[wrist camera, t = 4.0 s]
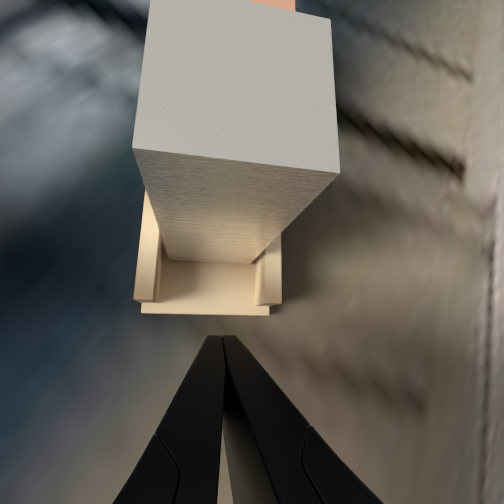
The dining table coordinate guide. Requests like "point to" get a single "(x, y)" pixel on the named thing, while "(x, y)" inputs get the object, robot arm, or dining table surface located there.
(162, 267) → the guide channel
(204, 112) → the brushed grey block
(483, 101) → the dining table surface
